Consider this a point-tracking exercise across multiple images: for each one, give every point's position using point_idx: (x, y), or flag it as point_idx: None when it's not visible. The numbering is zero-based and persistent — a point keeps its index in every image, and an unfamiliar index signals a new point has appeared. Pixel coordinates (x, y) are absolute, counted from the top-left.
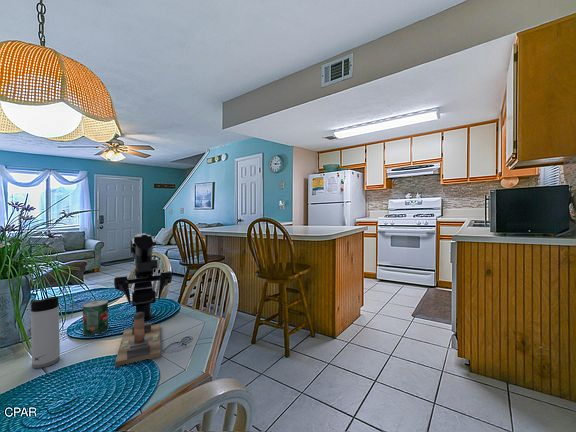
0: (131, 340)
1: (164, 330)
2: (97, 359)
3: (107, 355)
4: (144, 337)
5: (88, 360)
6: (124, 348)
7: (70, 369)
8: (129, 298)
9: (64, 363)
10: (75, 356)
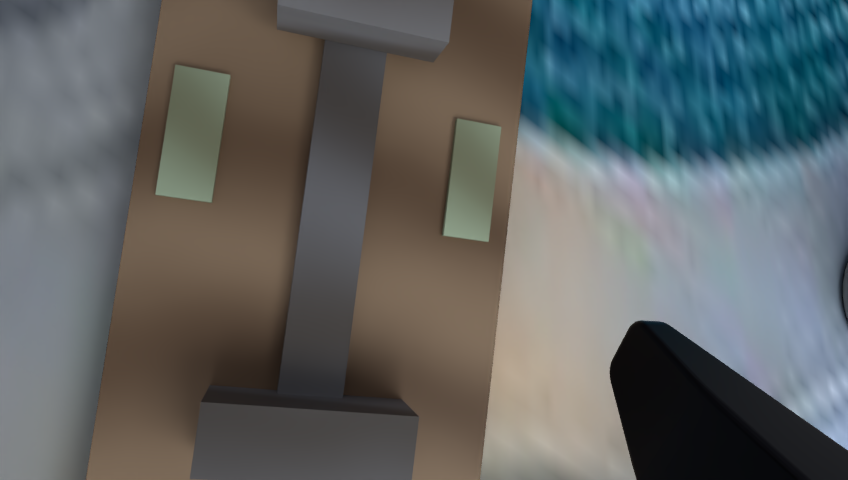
0: (446, 19)
1: (51, 418)
2: (635, 127)
3: (577, 150)
4: (320, 4)
5: (685, 152)
6: (478, 93)
7: (765, 89)
8: (736, 400)
9: (805, 207)
10: (763, 280)
